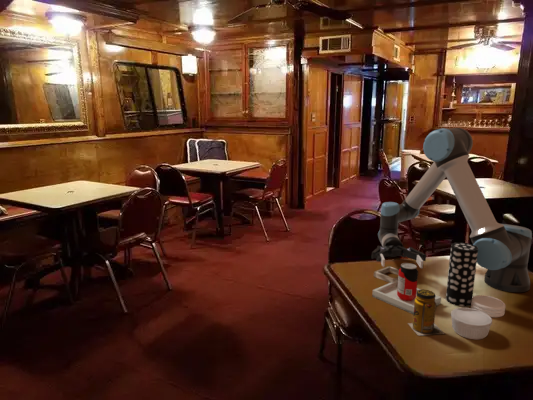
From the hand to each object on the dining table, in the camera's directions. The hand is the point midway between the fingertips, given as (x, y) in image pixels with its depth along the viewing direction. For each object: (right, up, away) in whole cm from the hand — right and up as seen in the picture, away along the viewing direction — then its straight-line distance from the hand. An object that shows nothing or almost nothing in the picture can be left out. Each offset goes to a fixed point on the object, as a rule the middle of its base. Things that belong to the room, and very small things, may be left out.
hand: (402, 264), depth 151 cm
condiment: (-1, -16, -25) cm, 30 cm away
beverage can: (-1, -11, -6) cm, 13 cm away
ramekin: (+11, -17, -27) cm, 33 cm away
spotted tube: (+17, -12, -7) cm, 22 cm away
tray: (-1, -12, -6) cm, 13 cm away
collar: (0, -7, +13) cm, 15 cm away
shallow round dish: (+24, -14, -13) cm, 30 cm away
